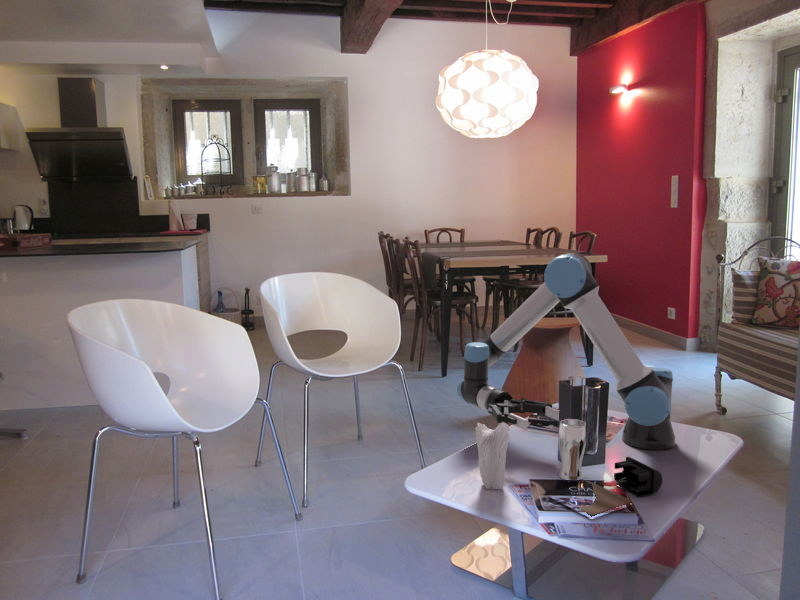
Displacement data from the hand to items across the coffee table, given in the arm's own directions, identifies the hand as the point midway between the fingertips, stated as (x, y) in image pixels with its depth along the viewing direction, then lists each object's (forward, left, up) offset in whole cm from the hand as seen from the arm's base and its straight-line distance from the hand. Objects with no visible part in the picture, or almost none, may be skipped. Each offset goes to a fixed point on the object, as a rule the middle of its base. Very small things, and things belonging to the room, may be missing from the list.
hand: (545, 420), depth 185 cm
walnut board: (+7, +23, -13) cm, 27 cm away
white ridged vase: (+22, +4, -13) cm, 26 cm away
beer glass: (0, +10, -13) cm, 16 cm away
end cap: (-9, +24, -13) cm, 29 cm away
